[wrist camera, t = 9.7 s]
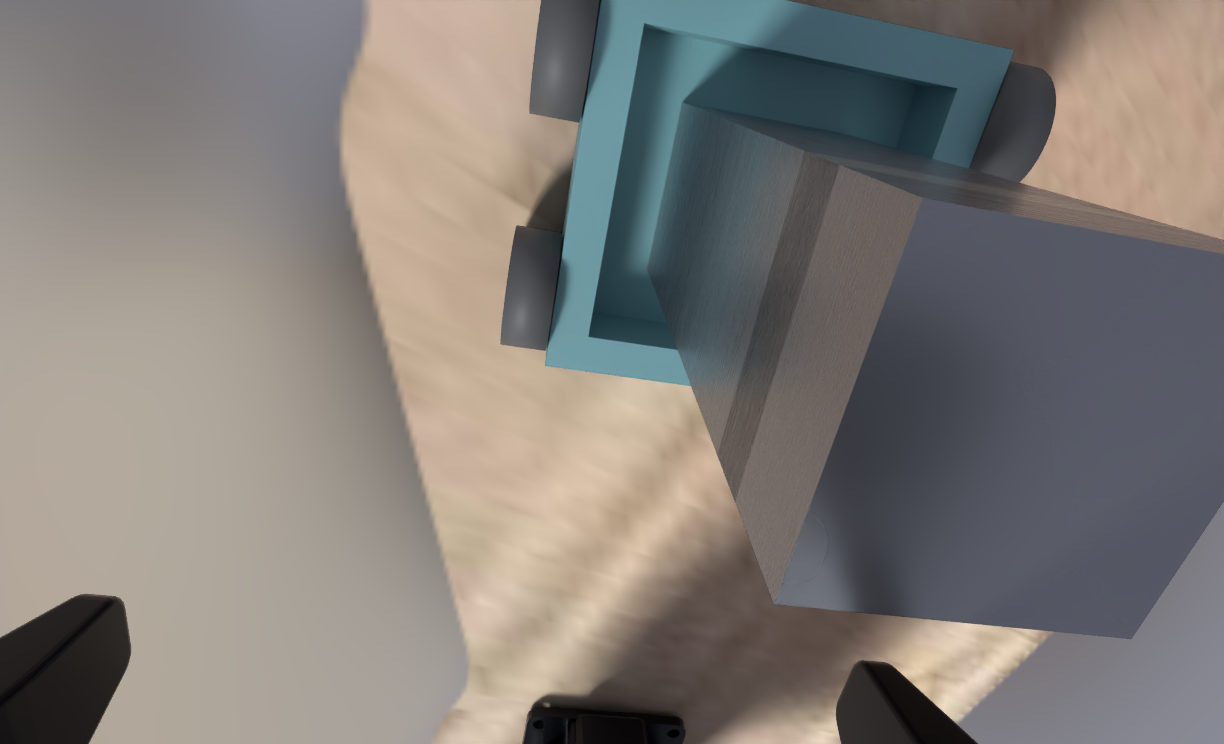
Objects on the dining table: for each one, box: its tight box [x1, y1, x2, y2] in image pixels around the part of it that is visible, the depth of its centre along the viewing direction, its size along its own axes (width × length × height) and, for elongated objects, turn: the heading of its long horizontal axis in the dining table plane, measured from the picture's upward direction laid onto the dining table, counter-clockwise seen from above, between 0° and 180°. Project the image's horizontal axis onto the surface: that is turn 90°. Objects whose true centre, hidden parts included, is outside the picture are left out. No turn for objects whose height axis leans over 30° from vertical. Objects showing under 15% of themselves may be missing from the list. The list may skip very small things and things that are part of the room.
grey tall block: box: [647, 102, 1224, 639], centre depth 13 cm, size 4×4×13 cm
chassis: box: [501, 0, 1056, 386], centre depth 18 cm, size 10×12×3 cm
